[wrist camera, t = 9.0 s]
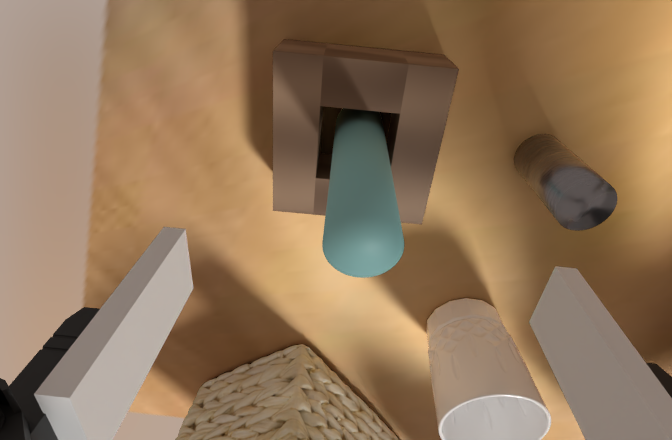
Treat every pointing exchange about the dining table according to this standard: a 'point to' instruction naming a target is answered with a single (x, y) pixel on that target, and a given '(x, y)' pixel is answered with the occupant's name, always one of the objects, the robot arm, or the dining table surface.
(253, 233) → the dining table surface
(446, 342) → the white cup
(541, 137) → the short pin
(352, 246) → the long pin
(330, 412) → the storage basket
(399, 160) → the hole block
